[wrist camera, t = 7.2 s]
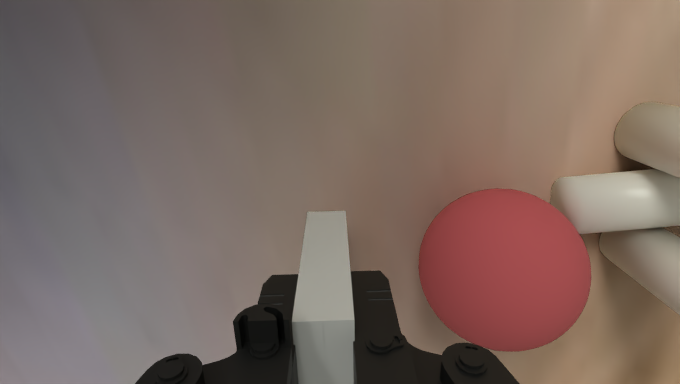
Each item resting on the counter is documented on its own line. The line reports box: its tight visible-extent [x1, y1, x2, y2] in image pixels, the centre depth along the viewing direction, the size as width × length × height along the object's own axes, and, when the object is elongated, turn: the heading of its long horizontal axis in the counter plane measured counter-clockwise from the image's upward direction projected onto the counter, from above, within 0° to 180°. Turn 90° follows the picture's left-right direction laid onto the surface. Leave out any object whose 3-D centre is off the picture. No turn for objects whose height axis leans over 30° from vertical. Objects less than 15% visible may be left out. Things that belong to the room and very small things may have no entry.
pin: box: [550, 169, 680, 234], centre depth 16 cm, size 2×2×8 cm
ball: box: [419, 189, 591, 351], centre depth 15 cm, size 6×6×6 cm
